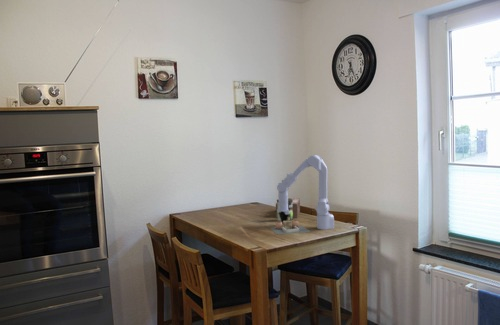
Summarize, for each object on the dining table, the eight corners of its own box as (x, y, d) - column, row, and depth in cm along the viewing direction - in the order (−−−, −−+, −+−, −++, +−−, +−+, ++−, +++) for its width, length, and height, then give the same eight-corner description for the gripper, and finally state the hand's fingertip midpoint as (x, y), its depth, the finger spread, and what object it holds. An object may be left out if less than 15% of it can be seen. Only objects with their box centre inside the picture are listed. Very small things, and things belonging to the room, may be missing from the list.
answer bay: (295, 228, 229) (295, 225, 228) (299, 231, 221) (299, 228, 221) (281, 229, 227) (281, 227, 227) (285, 232, 219) (285, 229, 219)
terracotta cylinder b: (279, 227, 232) (279, 221, 231) (284, 228, 229) (283, 222, 228) (274, 228, 229) (274, 222, 229) (279, 229, 226) (278, 224, 226)
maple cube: (289, 227, 232) (289, 220, 232) (291, 228, 228) (291, 221, 228) (283, 227, 232) (283, 221, 231) (285, 229, 228) (285, 222, 227)
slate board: (301, 227, 236) (301, 225, 236) (311, 233, 220) (311, 231, 220) (269, 229, 231) (269, 228, 231) (277, 236, 216) (277, 234, 216)
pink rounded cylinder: (297, 226, 233) (297, 220, 233) (299, 227, 230) (299, 222, 229) (291, 227, 233) (291, 221, 232) (293, 228, 229) (293, 222, 228)
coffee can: (294, 219, 257) (294, 198, 256) (290, 223, 248) (290, 201, 247) (279, 219, 261) (279, 198, 260) (275, 222, 251) (274, 200, 250)
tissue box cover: (297, 218, 262) (297, 203, 261) (276, 218, 265) (275, 203, 264) (299, 211, 287) (299, 198, 287) (280, 211, 290) (280, 198, 289)
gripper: (273, 200, 242) (274, 222, 243) (280, 204, 228) (281, 227, 229) (284, 199, 244) (285, 221, 244) (291, 203, 230) (292, 226, 230)
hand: (283, 224), depth 237 cm, fingers closed
